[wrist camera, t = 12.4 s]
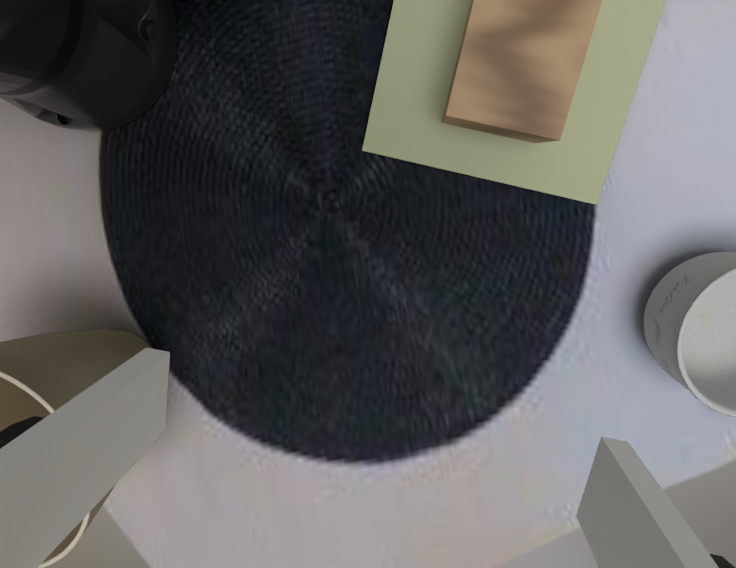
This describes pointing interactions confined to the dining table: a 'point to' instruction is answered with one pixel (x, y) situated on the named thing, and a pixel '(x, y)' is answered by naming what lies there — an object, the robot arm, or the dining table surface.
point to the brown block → (520, 66)
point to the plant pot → (59, 383)
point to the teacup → (697, 328)
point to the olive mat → (493, 152)
